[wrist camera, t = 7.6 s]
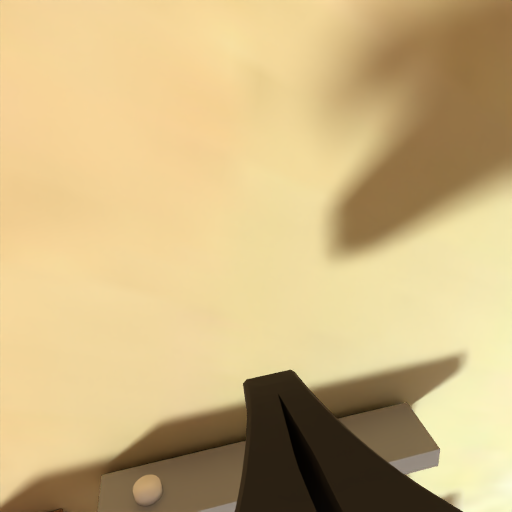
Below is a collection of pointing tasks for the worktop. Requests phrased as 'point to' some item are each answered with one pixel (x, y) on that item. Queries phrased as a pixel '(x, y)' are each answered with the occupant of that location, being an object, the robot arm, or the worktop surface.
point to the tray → (231, 464)
